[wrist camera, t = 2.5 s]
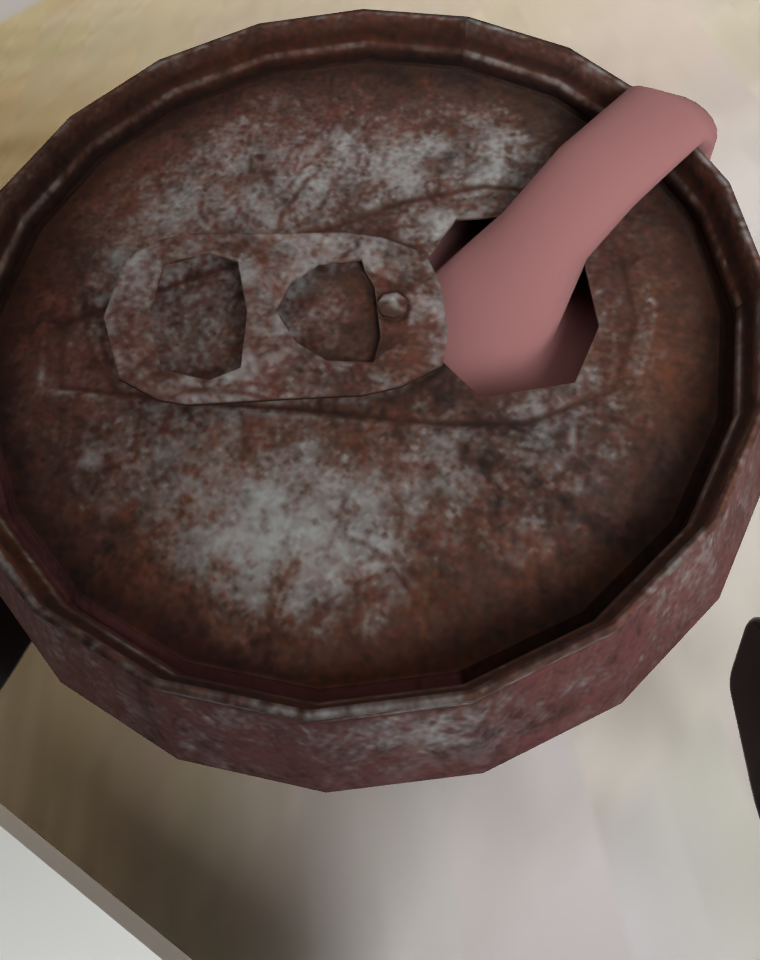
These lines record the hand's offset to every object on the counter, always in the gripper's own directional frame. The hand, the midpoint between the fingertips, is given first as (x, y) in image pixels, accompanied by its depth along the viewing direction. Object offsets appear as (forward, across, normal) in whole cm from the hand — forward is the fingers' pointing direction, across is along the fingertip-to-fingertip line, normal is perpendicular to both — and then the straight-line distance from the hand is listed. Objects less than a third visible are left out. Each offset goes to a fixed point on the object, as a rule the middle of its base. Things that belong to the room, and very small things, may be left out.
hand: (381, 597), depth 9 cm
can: (+7, 0, +6) cm, 9 cm away
